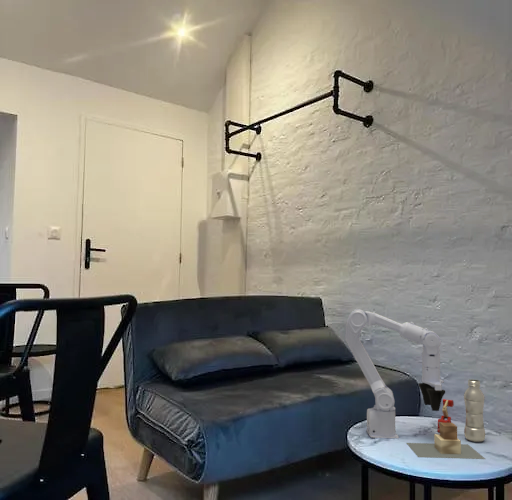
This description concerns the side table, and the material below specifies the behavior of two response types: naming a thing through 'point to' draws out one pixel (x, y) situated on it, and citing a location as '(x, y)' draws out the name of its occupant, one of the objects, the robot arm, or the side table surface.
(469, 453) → the grey flat rectangular panel
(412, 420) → the side table surface
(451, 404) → the toy fire truck
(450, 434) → the walnut block
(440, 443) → the birch base block
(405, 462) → the side table surface
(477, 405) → the plastic bottle
